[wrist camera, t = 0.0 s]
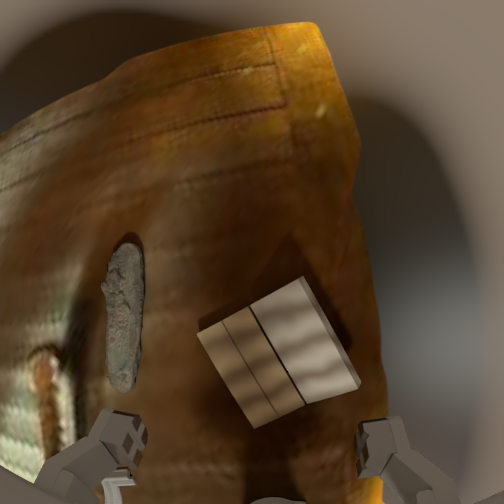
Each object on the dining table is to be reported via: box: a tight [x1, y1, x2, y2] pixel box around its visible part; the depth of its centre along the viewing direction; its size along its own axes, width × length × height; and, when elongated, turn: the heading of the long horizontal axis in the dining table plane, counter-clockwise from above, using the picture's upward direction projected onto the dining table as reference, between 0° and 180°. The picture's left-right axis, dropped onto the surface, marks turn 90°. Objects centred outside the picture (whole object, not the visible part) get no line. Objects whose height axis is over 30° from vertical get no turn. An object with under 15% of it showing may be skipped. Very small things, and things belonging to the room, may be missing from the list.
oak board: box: [197, 306, 305, 429], centre depth 62 cm, size 24×12×3 cm, turn 30°
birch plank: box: [250, 276, 361, 404], centre depth 58 cm, size 24×12×2 cm, turn 30°
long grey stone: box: [101, 243, 144, 393], centre depth 65 cm, size 35×5×10 cm
